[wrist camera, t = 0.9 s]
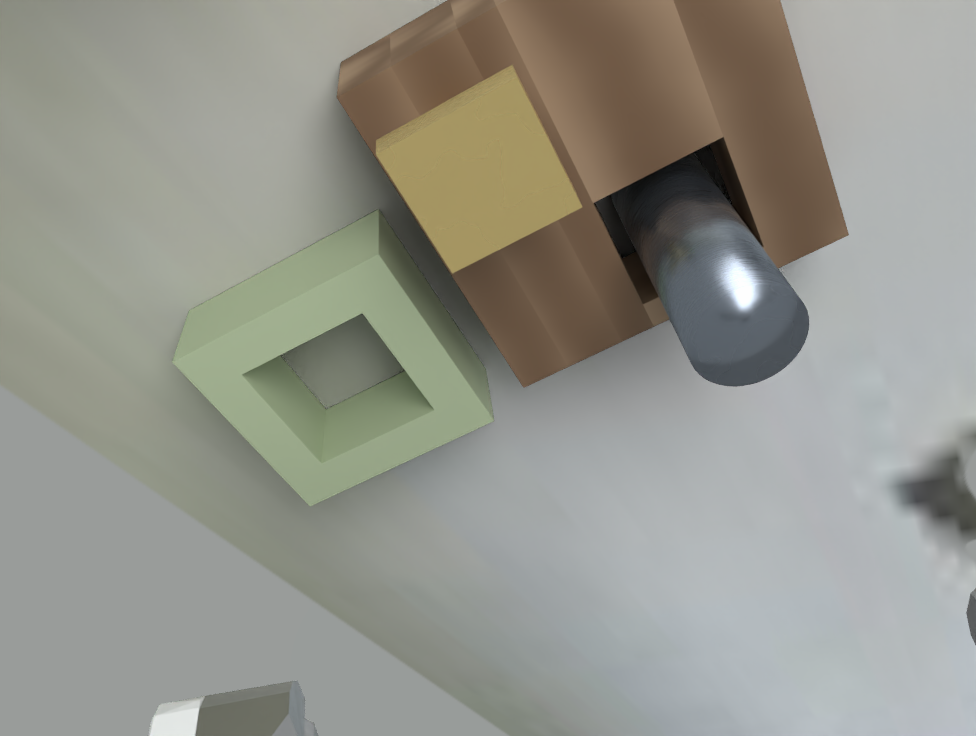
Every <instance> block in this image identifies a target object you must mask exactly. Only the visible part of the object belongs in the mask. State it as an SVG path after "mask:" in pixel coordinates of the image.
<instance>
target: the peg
mask: <svg viewBox="0 0 976 736" xmlns="http://www.w3.org/2000/svg"><path fill="white" fill-rule="evenodd" d="M611 198H612V202H613V204H614V206H615V208H616V210H617V212H618V214H619V217H620V219H621V221H622V223H623V225H624V227H625V229H626V231H627V233H628V235H629V237H630V239H631V241H632V243H633V245H634V247H635V249H636V251H637V253H638V255H639V257H640V259H641V262H642V264H643V266H644V268H645V270H646V272H647V274H648V276H649V278H650V280H651V282H652V284H653V286H654V288H655V290H656V292H657V294H658V296H659V298H660V300H661V302H662V305H663V307H664V309H665V311H666V313H667V315H668V317H669V319H670V321H671V323H672V325H673V327H674V329H675V331H676V333H677V335H678V337H679V339H680V341H681V343H682V345H683V347H684V350H685V352H686V354H687V356H688V358H689V360H690V362H691V364H692V365H693V367H694V369H695V370H696V371H697V372H698V373H699V374H700V375H701V376H702V377H703V378H705V379H707V380H708V381H710V382H713V383H716V384H719V385H724V386H744V385H750V384H753V383H757V382H760V381H762V380H765V379H767V378H769V377H771V376H773V375H775V374H776V373H778V372H779V371H781V370H782V369H783V368H785V367H786V366H787V365H788V364H789V363H790V362H791V361H792V360H793V359H794V358H795V357H796V356H797V354H798V353H799V351H800V350H801V348H802V346H803V345H804V343H805V340H806V338H807V334H808V330H809V316H808V312H807V309H806V307H805V305H804V304H803V302H802V301H801V299H800V298H799V297H798V295H797V294H796V292H795V291H794V290H793V288H792V287H791V286H790V284H789V283H788V282H787V280H786V279H785V277H784V276H783V275H782V273H781V272H780V271H779V269H778V268H777V267H776V265H775V264H774V263H773V261H772V260H771V258H770V257H769V256H768V254H767V253H766V252H765V250H764V249H763V248H762V246H761V245H760V243H759V242H758V241H757V239H756V238H755V237H754V235H753V234H752V233H751V231H750V230H749V229H748V227H747V226H746V224H745V223H744V222H743V220H742V219H741V218H740V216H739V215H738V214H737V212H736V211H735V209H734V208H733V207H732V205H731V204H730V203H729V201H728V200H727V199H726V197H725V196H724V195H723V193H722V192H721V190H720V189H719V188H718V186H717V185H716V184H715V182H714V181H713V180H712V178H711V177H710V175H709V174H708V173H707V171H706V170H705V169H704V167H703V166H702V165H701V163H700V162H699V160H698V159H697V158H696V156H695V155H694V154H693V153H691V154H689V155H687V156H685V157H683V158H681V159H679V160H677V161H675V162H673V163H671V164H669V165H667V166H665V167H663V168H661V169H659V170H657V171H655V172H653V173H651V174H649V175H647V176H645V177H643V178H641V179H640V180H638V181H636V182H634V183H632V184H630V185H628V186H626V187H624V188H622V189H620V190H618V191H616V192H614V193H612V194H611Z"/></svg>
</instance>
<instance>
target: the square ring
mask: <svg viewBox="0 0 976 736" xmlns="http://www.w3.org/2000/svg"><path fill="white" fill-rule="evenodd" d="M362 313H363V315H364V316H365V317H366V319H367V320H368V321H369V323H370V324H371V325H372V327H373V328H374V329H375V331H376V332H377V333H378V335H379V336H380V337H381V339H382V340H383V341H384V343H385V344H386V346H387V347H388V348H389V350H390V351H391V352H392V354H393V355H394V356H395V358H396V359H397V360H398V362H399V363H400V364H401V366H402V367H403V368H404V370H405V371H404V372H402V373H400V374H398V375H396V376H393V377H391V378H389V379H387V380H385V381H383V382H381V383H379V384H377V385H375V386H373V387H371V388H369V389H367V390H365V391H363V392H361V393H359V394H357V395H355V396H353V397H351V398H349V399H346V400H344V401H342V402H340V403H338V404H336V405H334V406H332V407H330V408H328V409H325V408H324V407H323V405H322V404H321V403H320V402H319V401H318V400H317V398H316V397H315V396H314V395H313V394H312V393H311V391H310V390H309V389H308V388H307V387H306V385H305V384H304V383H303V382H302V381H301V380H300V378H299V377H298V376H297V375H296V374H295V373H294V371H293V370H292V369H291V368H290V367H289V365H288V364H287V363H286V362H285V361H284V360H283V358H282V357H281V356H280V355H281V354H283V353H285V352H287V351H289V350H291V349H293V348H295V347H297V346H299V345H301V344H303V343H305V342H307V341H309V340H311V339H313V338H315V337H317V336H319V335H321V334H323V333H324V332H326V331H328V330H330V329H332V328H334V327H336V326H338V325H340V324H342V323H344V322H346V321H348V320H350V319H352V318H354V317H356V316H358V315H360V314H362ZM172 363H173V364H174V365H175V366H176V367H177V368H178V369H179V370H180V371H181V372H182V373H183V374H184V375H185V376H186V377H187V378H188V379H189V380H190V381H191V382H192V383H193V385H194V386H195V387H196V388H197V389H198V390H199V391H200V392H201V393H202V394H203V395H204V396H205V397H206V398H207V399H208V400H209V401H210V402H211V403H212V404H213V406H214V407H215V408H216V409H217V410H218V411H219V412H220V413H221V414H222V415H223V416H224V417H225V418H226V419H227V420H228V421H229V422H230V423H231V424H232V425H233V426H234V428H235V429H236V430H237V431H238V432H239V433H240V434H241V435H242V436H243V437H244V438H245V439H246V440H247V441H248V442H249V443H250V444H251V445H252V446H253V447H254V448H255V450H256V451H257V452H258V453H259V454H260V455H261V456H262V457H263V458H264V459H265V460H266V461H267V462H268V463H269V464H270V465H271V466H272V467H273V468H274V469H275V470H276V472H277V473H278V474H279V475H280V476H281V477H282V478H283V479H284V480H285V481H286V482H287V483H288V484H289V485H290V486H291V487H292V488H293V489H294V490H295V491H296V492H297V494H298V495H299V496H300V497H301V498H302V499H303V500H304V501H305V502H306V503H307V504H308V505H309V506H312V505H314V504H317V503H319V502H321V501H323V500H325V499H327V498H329V497H332V496H334V495H336V494H338V493H340V492H342V491H344V490H347V489H349V488H351V487H353V486H355V485H357V484H360V483H362V482H364V481H366V480H368V479H370V478H372V477H375V476H377V475H379V474H381V473H383V472H385V471H388V470H390V469H392V468H394V467H396V466H398V465H400V464H403V463H405V462H407V461H409V460H411V459H413V458H415V457H418V456H420V455H422V454H424V453H426V452H428V451H431V450H433V449H435V448H437V447H439V446H441V445H443V444H446V443H448V442H450V441H452V440H454V439H456V438H459V437H461V436H463V435H465V434H467V433H469V432H471V431H474V430H476V429H478V428H480V427H482V426H484V425H486V424H489V423H491V422H493V421H494V417H493V410H492V404H491V398H490V392H489V386H488V380H487V374H486V369H485V367H484V366H483V364H482V363H481V361H480V360H479V358H478V357H477V355H476V354H475V352H474V351H473V349H472V348H471V346H470V345H469V343H468V342H467V340H466V339H465V338H464V336H463V335H462V333H461V332H460V330H459V329H458V327H457V326H456V324H455V323H454V321H453V320H452V318H451V317H450V315H449V314H448V312H447V311H446V309H445V308H444V306H443V305H442V303H441V302H440V300H439V299H438V297H437V296H436V294H435V293H434V291H433V290H432V288H431V287H430V285H429V284H428V282H427V281H426V279H425V278H424V276H423V275H422V273H421V272H420V270H419V269H418V267H417V266H416V264H415V263H414V261H413V260H412V258H411V257H410V255H409V254H408V252H407V251H406V249H405V248H404V246H403V245H402V243H401V242H400V240H399V239H398V237H397V236H396V234H395V233H394V231H393V230H392V228H391V227H390V225H389V224H388V222H387V221H386V219H385V218H384V216H383V215H382V213H381V212H380V210H379V209H378V210H376V211H374V212H372V213H370V214H369V215H367V216H365V217H363V218H361V219H359V220H357V221H355V222H354V223H352V224H350V225H348V226H346V227H344V228H342V229H341V230H339V231H337V232H335V233H333V234H331V235H329V236H327V237H326V238H324V239H322V240H320V241H318V242H316V243H314V244H313V245H311V246H309V247H307V248H305V249H303V250H301V251H300V252H298V253H296V254H294V255H292V256H290V257H288V258H286V259H285V260H283V261H281V262H279V263H277V264H275V265H273V266H272V267H270V268H268V269H266V270H264V271H262V272H260V273H259V274H257V275H255V276H253V277H251V278H249V279H247V280H245V281H244V282H242V283H240V284H238V285H236V286H234V287H232V288H231V289H229V290H227V291H225V292H223V293H221V294H219V295H217V296H216V297H214V298H212V299H210V300H208V301H206V302H204V303H203V304H201V305H199V306H197V307H195V308H193V309H191V310H190V311H189V313H188V316H187V319H186V322H185V325H184V328H183V331H182V334H181V337H180V340H179V343H178V346H177V349H176V352H175V355H174V358H173V361H172Z"/></svg>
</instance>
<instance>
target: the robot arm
mask: <svg viewBox="0 0 976 736" xmlns="http://www.w3.org/2000/svg"><path fill="white" fill-rule="evenodd" d="M967 618H968V623H969V628H970V633H971V636H972V638H973V640H974V643H975V645H976V589H975V590H974V591H973V592H972V593H971V594H970V599H969V604H968V608H967ZM304 716H305V698H304V695H303V693H302V691H301V688H300V686H299V683H298V681H292V682H286V683H280V684H274V685H268V686H262V687H256V688H250V689H244V690H238V691H232V692H226V693H220V694H214V695H208V696H202V697H197V698H192V699H186V700H181V701H175V702H170V703H165V704H160V705H159V707H158V709H157V711H156V712H155V714H154V716H153V718H152V720H151V725H150V730H149V735H148V736H318V733H317V731H316V728H315V725H314V723H313V722H311V721H309V720H307V719H305V718H304Z"/></svg>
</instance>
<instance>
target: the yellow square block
mask: <svg viewBox="0 0 976 736" xmlns="http://www.w3.org/2000/svg"><path fill="white" fill-rule="evenodd" d="M376 156H377V157H378V159H379V160H380V162H381V163H382V165H383V166H384V168H385V170H386V171H387V173H388V174H389V176H390V177H391V179H392V180H393V182H394V184H395V185H396V187H397V188H398V190H399V191H400V193H401V195H402V196H403V198H404V199H405V201H406V202H407V204H408V205H409V207H410V209H411V210H412V212H413V213H414V215H415V216H416V218H417V219H418V221H419V223H420V224H421V226H422V227H423V229H424V230H425V232H426V233H427V235H428V237H429V238H430V240H431V241H432V243H433V244H434V246H435V247H436V249H437V251H438V252H439V254H440V255H441V257H442V258H443V260H444V261H445V263H446V265H447V266H448V268H449V269H450V271H451V272H452V274H453V273H454V272H456V271H458V270H460V269H462V268H464V267H466V266H468V265H470V264H472V263H474V262H476V261H478V260H480V259H482V258H484V257H486V256H488V255H490V254H492V253H494V252H496V251H498V250H500V249H502V248H504V247H506V246H508V245H509V244H511V243H513V242H515V241H517V240H519V239H521V238H523V237H525V236H527V235H529V234H531V233H533V232H535V231H537V230H539V229H541V228H543V227H545V226H547V225H549V224H551V223H553V222H555V221H557V220H559V219H561V218H563V217H565V216H566V215H568V214H570V213H572V212H574V211H576V210H578V209H580V208H582V205H581V202H580V200H579V198H578V195H577V193H576V191H575V189H574V187H573V185H572V183H571V181H570V179H569V177H568V175H567V173H566V171H565V169H564V167H563V165H562V163H561V161H560V159H559V157H558V155H557V153H556V151H555V149H554V147H553V145H552V143H551V141H550V139H549V137H548V135H547V133H546V131H545V129H544V127H543V125H542V123H541V121H540V119H539V117H538V115H537V113H536V111H535V109H534V107H533V105H532V103H531V101H530V99H529V97H528V95H527V93H526V91H525V89H524V87H523V85H522V83H521V81H520V79H519V77H518V75H517V73H516V71H515V69H514V67H513V65H511V66H509V67H507V68H505V69H503V70H502V71H500V72H498V73H496V74H494V75H493V76H491V77H489V78H487V79H485V80H484V81H482V82H480V83H478V84H476V85H475V86H473V87H471V88H469V89H467V90H466V91H464V92H462V93H460V94H458V95H457V96H455V97H453V98H451V99H449V100H448V101H446V102H444V103H442V104H440V105H439V106H437V107H435V108H433V109H431V110H430V111H428V112H426V113H424V114H422V115H421V116H419V117H417V118H415V119H413V120H412V121H410V122H408V123H406V124H404V125H403V126H401V127H399V128H397V129H395V130H394V131H392V132H390V133H388V134H386V135H385V136H383V137H381V138H379V139H377V140H376Z"/></svg>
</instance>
